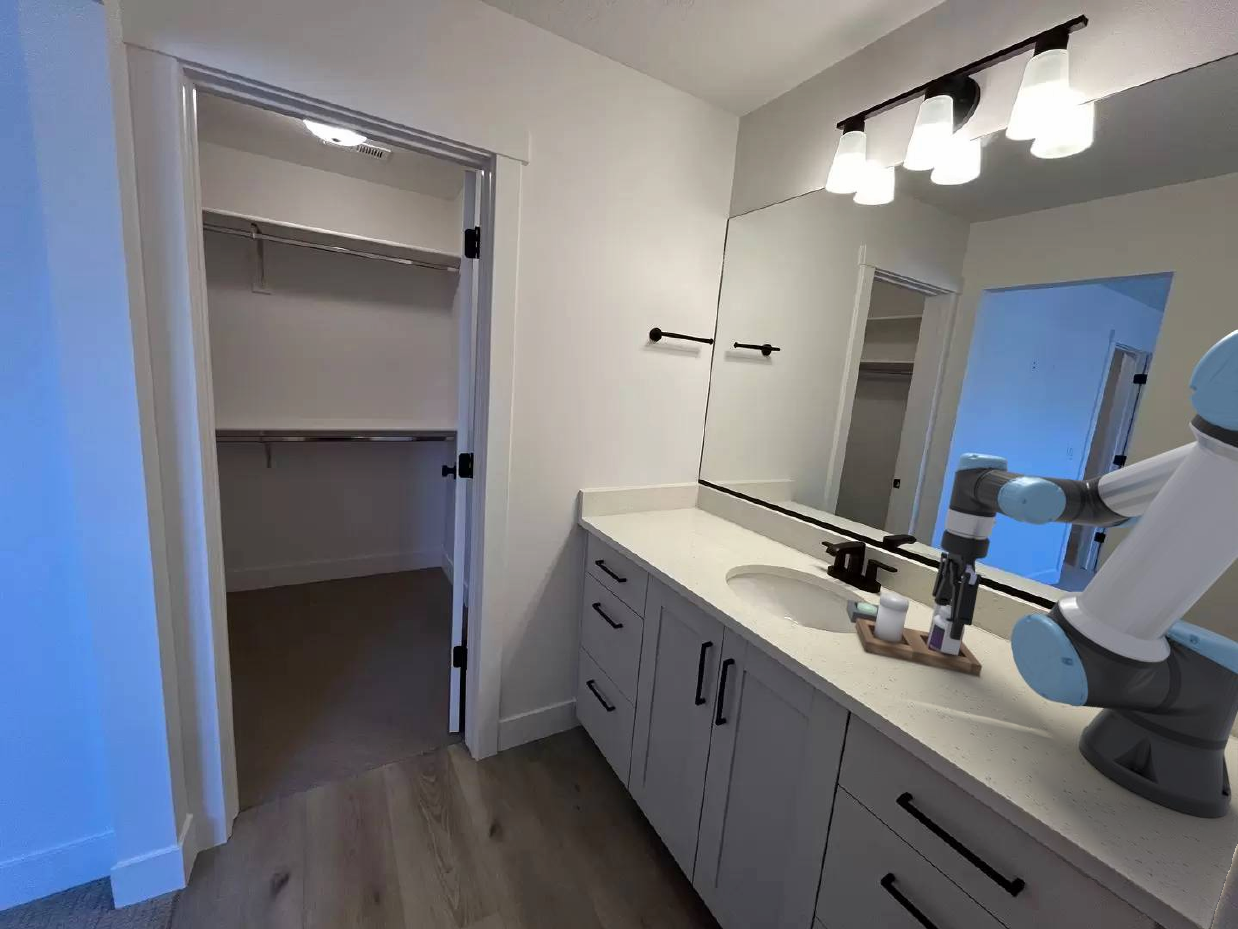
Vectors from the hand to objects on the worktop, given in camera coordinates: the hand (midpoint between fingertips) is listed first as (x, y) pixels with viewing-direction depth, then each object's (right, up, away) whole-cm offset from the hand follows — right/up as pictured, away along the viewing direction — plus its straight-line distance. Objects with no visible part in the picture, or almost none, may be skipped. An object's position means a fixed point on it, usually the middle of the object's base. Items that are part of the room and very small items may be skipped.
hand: (942, 643), depth 101 cm
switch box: (-9, 0, +14) cm, 17 cm away
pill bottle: (0, -2, 0) cm, 2 cm away
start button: (-9, 0, +14) cm, 16 cm away
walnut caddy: (-5, -3, +2) cm, 6 cm away
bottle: (-10, -1, +3) cm, 10 cm away
